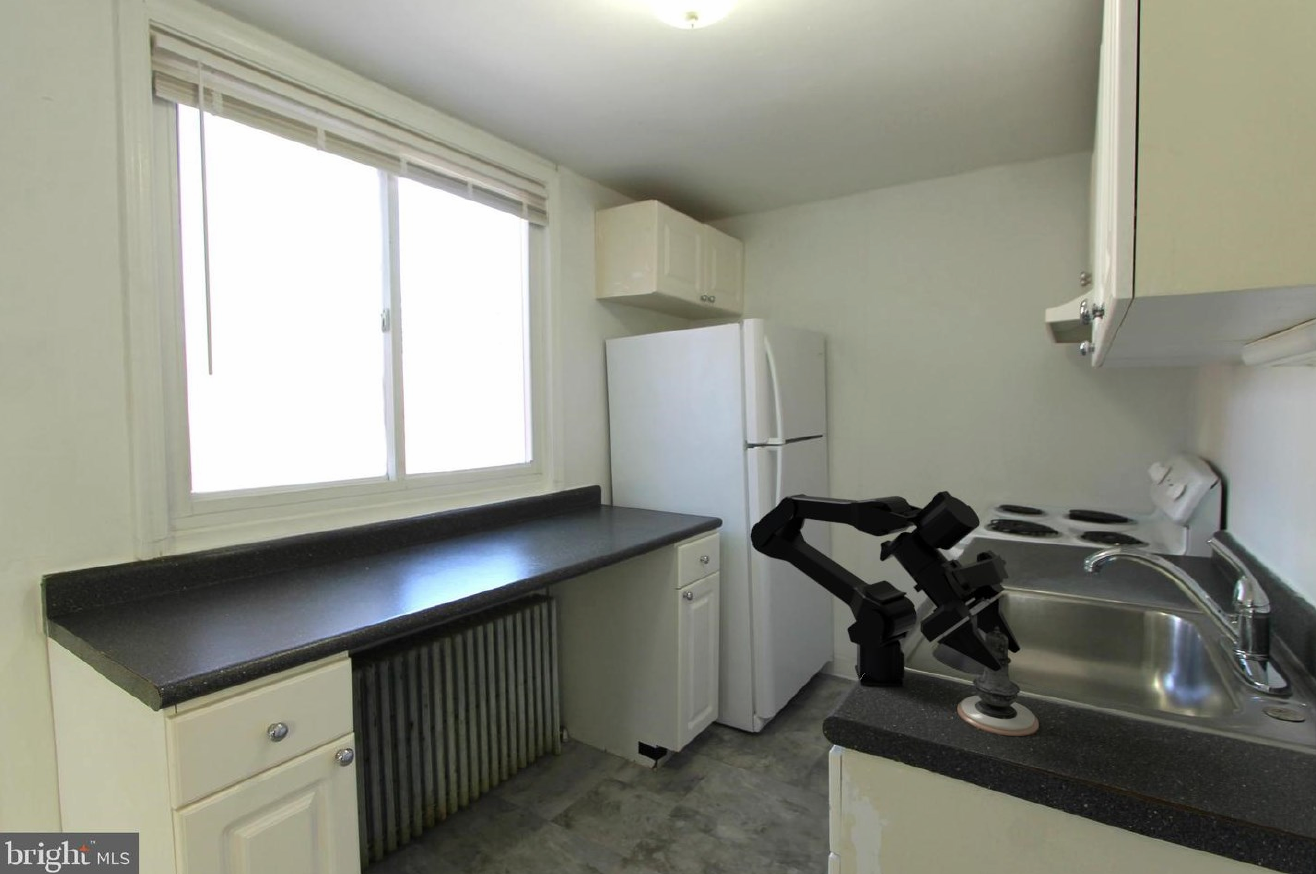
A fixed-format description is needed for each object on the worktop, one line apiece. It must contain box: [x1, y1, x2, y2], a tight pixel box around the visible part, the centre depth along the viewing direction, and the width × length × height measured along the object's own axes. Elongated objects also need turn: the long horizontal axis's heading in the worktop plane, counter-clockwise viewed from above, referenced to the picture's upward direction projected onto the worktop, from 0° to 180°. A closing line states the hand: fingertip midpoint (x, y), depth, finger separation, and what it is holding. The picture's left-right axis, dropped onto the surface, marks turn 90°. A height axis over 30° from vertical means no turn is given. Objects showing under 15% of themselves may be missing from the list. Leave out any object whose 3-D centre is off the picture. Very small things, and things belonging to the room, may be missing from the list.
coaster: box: [956, 695, 1040, 737], centre depth 88 cm, size 10×10×1 cm
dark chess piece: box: [972, 626, 1021, 719], centre depth 88 cm, size 6×6×12 cm
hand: (1008, 660), depth 87 cm, fingers open, 8 cm apart
